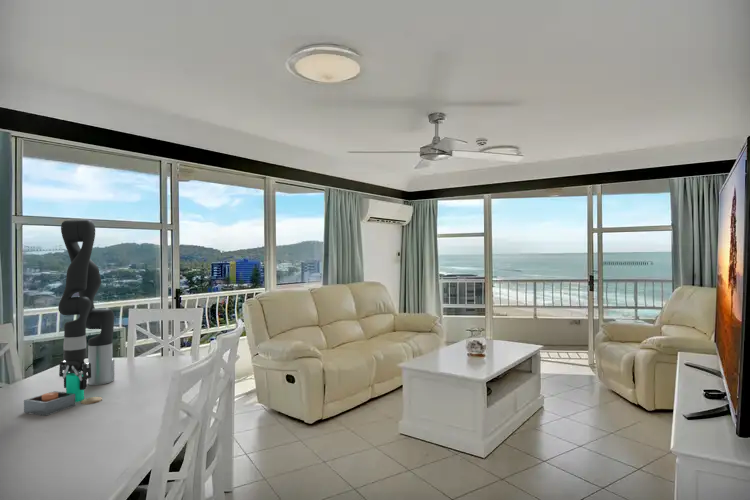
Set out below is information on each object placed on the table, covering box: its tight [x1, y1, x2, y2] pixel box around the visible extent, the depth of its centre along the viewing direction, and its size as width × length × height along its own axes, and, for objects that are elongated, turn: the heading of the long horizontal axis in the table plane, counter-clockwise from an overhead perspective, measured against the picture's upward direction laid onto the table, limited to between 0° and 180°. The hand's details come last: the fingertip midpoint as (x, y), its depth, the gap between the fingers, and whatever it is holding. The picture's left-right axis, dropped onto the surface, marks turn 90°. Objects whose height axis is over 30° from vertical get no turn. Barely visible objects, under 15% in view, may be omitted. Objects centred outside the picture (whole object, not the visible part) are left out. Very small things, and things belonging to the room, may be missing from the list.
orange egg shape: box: [41, 391, 59, 402], centre depth 162 cm, size 5×5×2 cm
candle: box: [65, 373, 85, 403], centre depth 171 cm, size 6×6×12 cm
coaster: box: [80, 396, 103, 405], centre depth 170 cm, size 7×7×1 cm
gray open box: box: [23, 390, 76, 417], centre depth 162 cm, size 11×11×4 cm
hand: (75, 388), depth 171 cm, fingers open, 8 cm apart
